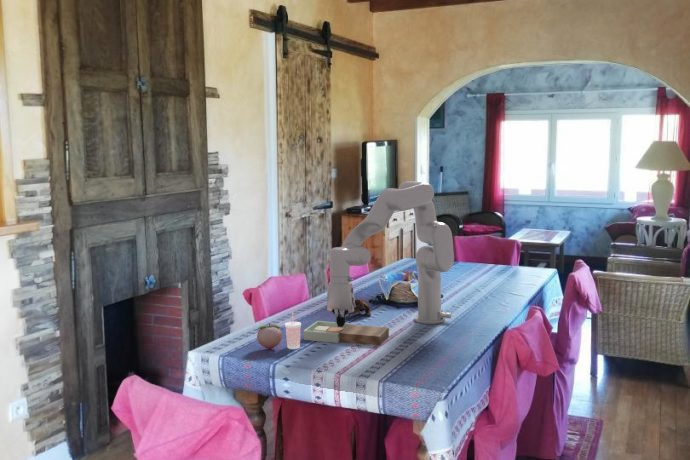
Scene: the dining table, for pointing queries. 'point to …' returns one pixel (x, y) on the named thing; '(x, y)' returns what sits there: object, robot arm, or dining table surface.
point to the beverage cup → (293, 334)
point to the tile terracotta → (335, 330)
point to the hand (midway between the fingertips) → (340, 326)
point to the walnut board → (364, 335)
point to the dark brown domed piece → (361, 307)
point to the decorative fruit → (269, 336)
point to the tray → (322, 336)
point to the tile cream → (321, 328)
